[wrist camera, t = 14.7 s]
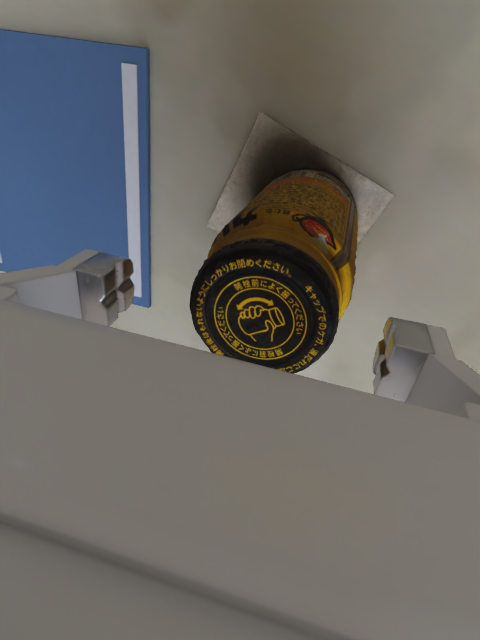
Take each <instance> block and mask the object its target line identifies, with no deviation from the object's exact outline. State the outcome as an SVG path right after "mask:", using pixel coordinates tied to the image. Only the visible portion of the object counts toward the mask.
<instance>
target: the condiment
mask: <svg viewBox="0 0 480 640" xmlns="http://www.w3.org/2000/svg"><path fill="white" fill-rule="evenodd" d="M394 196H395V195H393V194H392V193H390V192H389V191H387V190H385V189H384V188H382V187H381V186H379V185H378V184H376V183H374V182H373V181H371V180H370V179H368V178H367V177H365V176H363V175H361V174H360V173H358V172H357V171H355V170H354V169H352V168H351V167H349V166H347V165H346V164H344V163H342V162H341V161H339V160H338V159H336V158H334V157H333V156H331V155H329V154H328V153H326V152H325V151H323V150H321V149H319V148H318V147H316V146H314V145H313V144H311V143H310V142H308V141H307V140H305V139H303V138H302V137H300V136H299V135H297V134H296V133H294V132H293V131H291V130H289V129H287V128H286V127H284V126H282V125H281V124H279V123H277V122H276V121H274V120H273V119H271V118H269V117H268V116H266V115H265V114H263V113H261V112H260V113H259V115H258V117H257V119H256V121H255V124H254V126H253V128H252V131H251V133H250V135H249V137H248V139H247V141H246V144H245V146H244V148H243V150H242V152H241V154H240V156H239V159H238V161H237V163H236V165H235V167H234V169H233V171H232V173H231V176H230V178H229V180H228V183H227V184H226V186H225V188H224V190H223V192H222V195H221V197H220V199H219V201H218V203H217V205H216V207H215V210H214V211H213V213H212V215H211V218H210V220H209V222H208V224H207V227H208V228H210V229H212V230H213V231H215V232H216V233H218V235H217V237H216V238H215V240H214V242H213V244H212V246H211V249H210V251H209V254H208V258H207V259H206V260H205V261H204V264H203V266H202V267H201V269H200V270H199V272H198V275H197V276H196V278H195V281H194V283H193V286H192V290H191V297H190V310H191V314H192V320H193V324H194V327H195V330H196V331H197V333H198V334H199V335H200V337H201V338H202V340H203V341H204V343H205V344H206V345H207V347H208V348H209V349H210V351H211V352H212V353H214V354H218V355H222V356H226V357H229V358H233V359H237V360H241V361H245V362H249V363H253V364H257V365H261V366H265V367H268V368H272V369H276V370H280V371H284V372H288V373H292V374H294V373H297V372H299V371H302V370H304V369H306V368H307V367H309V366H310V365H311V364H312V363H314V362H315V361H317V360H318V359H319V358H320V357H321V356H322V355H323V354H324V353H325V352H326V351H327V350H328V349H329V346H330V345H331V344H332V342H333V340H334V336H335V334H336V332H337V327H338V322H339V320H340V318H341V317H342V316H343V314H344V312H345V310H346V308H347V307H348V305H349V302H350V300H351V296H352V289H353V284H354V276H355V270H356V267H355V259H356V250H357V245H358V244H359V242H360V241H361V240H362V238H363V237H364V236H365V234H366V233H367V232H368V230H369V229H370V228H371V227H372V225H373V224H374V223H375V221H376V220H377V219H378V218H379V216H380V215H381V214H382V212H383V211H384V210H385V208H386V207H387V206H388V204H389V203H390V202H391V200H392V199H393V198H394Z"/></svg>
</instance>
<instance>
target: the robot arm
mask: <svg viewBox="0 0 480 640" xmlns="http://www.w3.org/2000/svg"><path fill="white" fill-rule="evenodd" d="M133 273H134V269H133V262H132V261H131V259H129V258H124V257H120V256H116V255H112V254H108V253H104V252H101V251H96V250H90V249H85V250H83V251H81V252H80V253H78V254H76V255H75V256H73V257H71V258H69V259H68V260H66V261H64V262H63V263H61V264H59V265H58V266H55V265H49V266H43V267H37V268H31V269H24V270H18V271H12V272H6V273H0V640H480V375H479V374H478V373H476V372H475V371H474V370H473V369H471V368H470V367H469V366H467V365H466V364H465V363H464V362H462V361H460V360H456V358H455V356H454V353H453V350H452V347H451V344H450V342H449V339H448V336H447V333H446V330H445V329H444V328H442V327H436V326H431V325H426V324H423V323H418V322H413V321H408V320H403V319H398V318H393V317H390V318H388V320H387V322H386V324H385V327H384V329H383V331H384V339H383V340H381V341H380V342H379V343H378V346H377V349H376V351H375V356H374V360H373V372H374V374H375V375H376V376H375V378H374V381H373V386H374V394H370V393H366V392H362V391H358V390H354V389H351V388H347V387H343V386H339V385H335V384H331V383H327V382H323V381H319V380H315V379H311V378H308V377H304V376H300V375H296V374H292V373H288V372H284V371H280V370H276V369H272V368H268V367H265V366H261V365H257V364H253V363H249V362H245V361H241V360H237V359H233V358H229V357H226V356H222V355H218V354H214V353H210V352H206V351H202V350H198V349H194V348H191V347H187V346H183V345H179V344H175V343H171V342H167V341H163V340H159V339H155V338H152V337H148V336H144V335H140V334H136V333H132V332H128V331H124V330H120V329H117V328H113V327H109V326H110V325H111V324H112V323H113V322H114V321H115V320H116V319H117V318H118V313H119V312H123V311H126V310H127V309H128V308H129V307H130V305H131V303H132V300H133V298H134V284H133V282H132V280H131V279H130V277H131V275H132V274H133Z"/></svg>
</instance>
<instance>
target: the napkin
mask: <svg viewBox="0 0 480 640" xmlns="http://www.w3.org/2000/svg"><path fill="white" fill-rule="evenodd" d="M85 249H90V250H96V251H101V252H104V253H108V254H112V255H116V256H120V257H124V258H129V259H131V261H132V262H133V269H134V273H133V274H132V275H131V277H130V279H131V280H132V282H133V284H134V298H133V300H132V303H131V304H135V305H139V306H143V307H147V308H149V307H150V306H151V300H150V164H149V49H147V48H140V47H132V46H124V45H117V44H109V43H101V42H94V41H86V40H78V39H70V38H63V37H55V36H47V35H40V34H32V33H24V32H16V31H9V30H1V29H0V270H1V271H5V272H12V271H18V270H24V269H31V268H37V267H43V266H49V265H55V266H58V265H59V264H61V263H63V262H64V261H66V260H68V259H69V258H71V257H73V256H75V255H76V254H78V253H80V252H81V251H83V250H85Z"/></svg>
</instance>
